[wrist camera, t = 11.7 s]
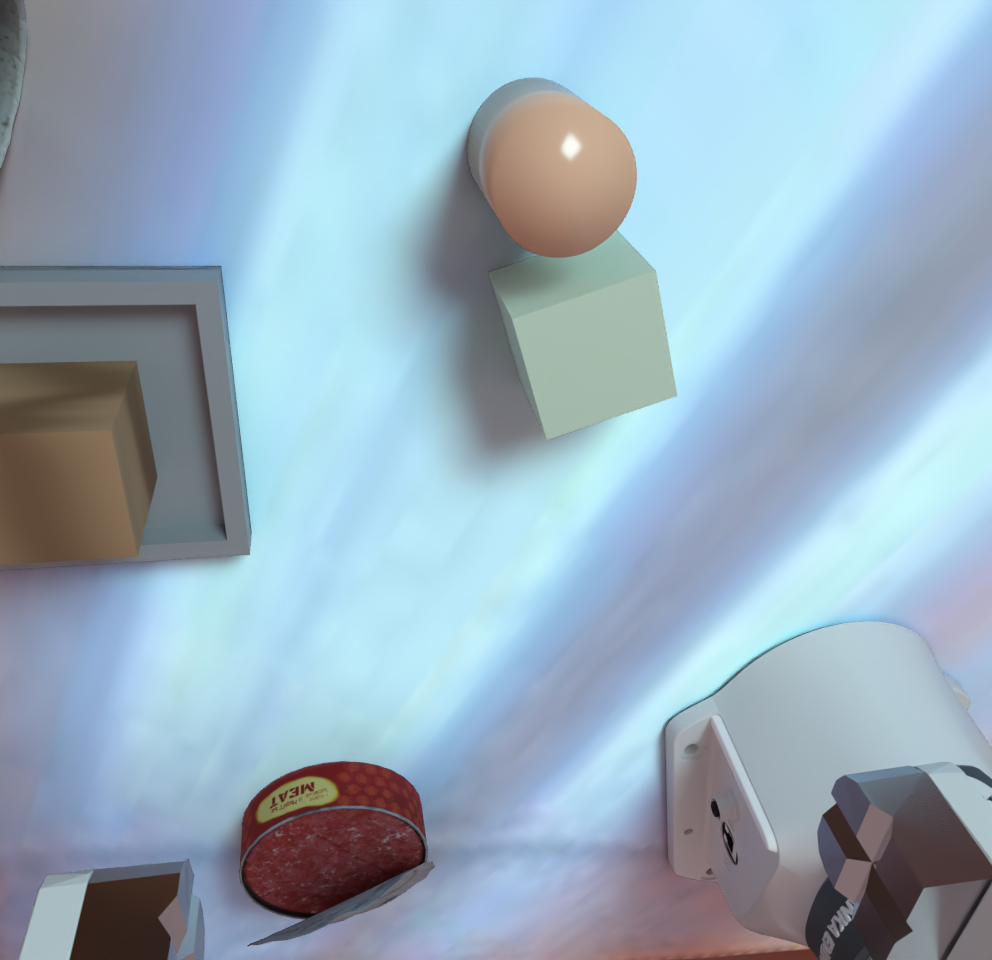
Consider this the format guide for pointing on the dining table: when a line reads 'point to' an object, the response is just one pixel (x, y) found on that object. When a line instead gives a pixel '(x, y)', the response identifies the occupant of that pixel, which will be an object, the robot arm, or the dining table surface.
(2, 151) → the ceramic mug
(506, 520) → the dining table surface
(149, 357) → the tray
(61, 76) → the dining table surface
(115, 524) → the walnut block
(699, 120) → the dining table surface
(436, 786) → the dining table surface
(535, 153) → the terracotta cylinder
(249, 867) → the canned food
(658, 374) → the green block
